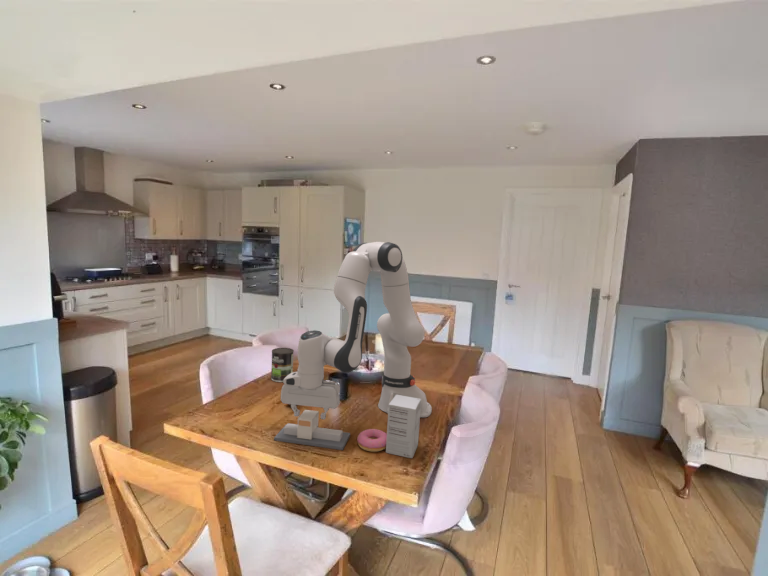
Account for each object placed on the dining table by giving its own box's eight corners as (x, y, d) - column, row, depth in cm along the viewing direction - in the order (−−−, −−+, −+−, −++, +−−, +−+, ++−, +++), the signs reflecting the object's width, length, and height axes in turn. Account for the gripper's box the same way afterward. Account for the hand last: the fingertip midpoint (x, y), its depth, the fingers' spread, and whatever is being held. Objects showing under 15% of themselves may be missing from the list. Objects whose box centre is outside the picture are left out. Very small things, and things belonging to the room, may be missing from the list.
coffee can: (284, 383, 184) (285, 354, 182) (266, 379, 188) (267, 351, 186) (297, 377, 193) (297, 349, 192) (279, 373, 197) (280, 346, 195)
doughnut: (350, 446, 131) (350, 434, 131) (369, 434, 140) (370, 423, 140) (377, 457, 125) (377, 445, 125) (395, 444, 134) (395, 432, 134)
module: (318, 430, 138) (318, 411, 137) (310, 440, 131) (311, 420, 130) (304, 428, 139) (305, 409, 138) (296, 438, 132) (297, 418, 131)
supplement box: (392, 439, 137) (395, 393, 135) (418, 444, 134) (421, 398, 133) (385, 453, 128) (387, 404, 126) (412, 459, 125) (415, 409, 123)
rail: (350, 435, 138) (350, 427, 138) (342, 450, 128) (343, 440, 128) (286, 426, 142) (286, 418, 141) (274, 440, 132) (274, 431, 132)
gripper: (342, 378, 135) (341, 416, 136) (286, 372, 138) (286, 410, 139) (337, 384, 128) (336, 424, 130) (278, 379, 131) (278, 418, 133)
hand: (309, 417), depth 135 cm, fingers open, 8 cm apart
